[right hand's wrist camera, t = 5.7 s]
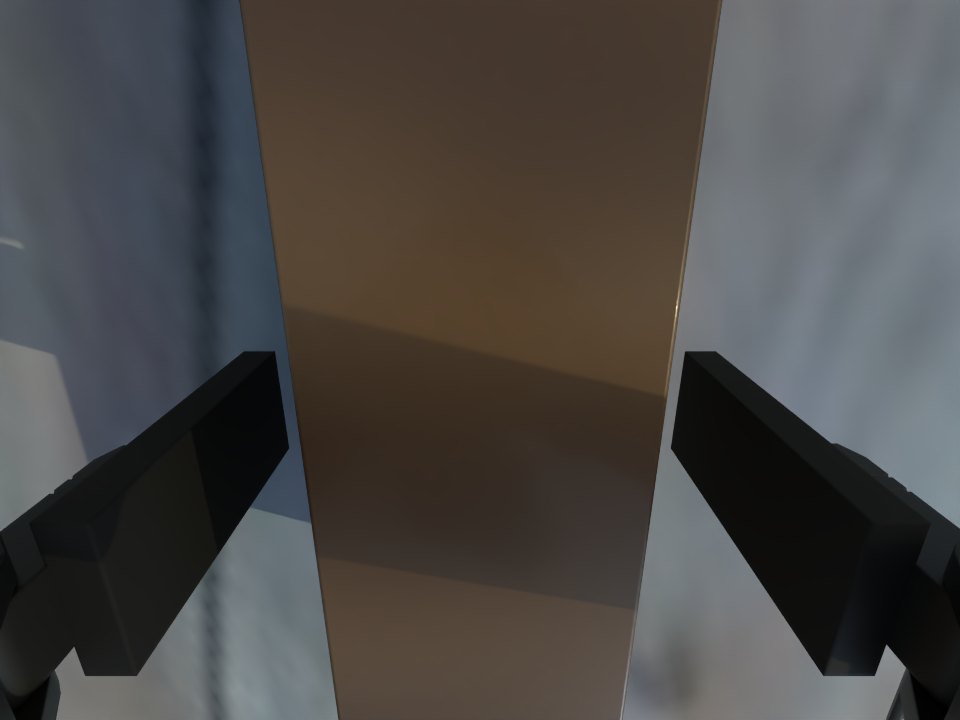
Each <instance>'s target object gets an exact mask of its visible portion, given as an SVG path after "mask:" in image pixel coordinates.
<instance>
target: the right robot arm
mask: <svg viewBox="0 0 960 720" xmlns="http://www.w3.org/2000/svg"><path fill="white" fill-rule="evenodd" d="M288 449H289V444H288V437H287V430H286V424H285V417H284V410H283V403H282V397H281V390H280V383H279V376H278V369H277V363H276V356H275V351H244V352H243V353H242V354H240V355H239V356H238V357H237V358H235V359H234V360H233V361H232V362H230V363H229V364H228V365H227V366H225V367H224V368H223V369H222V370H220V371H219V372H218V373H217V374H215V375H214V376H213V377H212V378H210V379H209V380H208V381H207V382H205V383H204V384H203V385H202V386H200V387H199V388H198V389H197V390H195V391H194V392H193V393H191V394H190V395H189V396H188V397H186V398H185V399H184V400H183V401H181V402H180V403H179V404H178V405H176V406H175V407H174V408H173V409H171V410H170V411H169V412H168V413H166V414H165V415H164V416H163V417H161V418H160V419H159V420H158V421H156V422H155V423H154V424H153V425H151V426H150V427H149V428H148V429H146V430H145V431H144V432H143V433H141V434H140V435H139V436H138V437H136V438H135V439H134V440H133V441H131V442H130V443H129V444H128V445H123V446H121V447H119V448H117V449H115V450H113V451H111V452H109V453H107V454H105V455H103V456H100V457H98V458H96V459H94V460H93V461H92V462H90V463H89V464H88V465H86V466H85V467H84V468H83V469H81V470H80V471H79V472H77V473H76V474H75V475H73V478H72V480H67V481H66V482H64V483H63V484H62V485H60V486H59V487H58V488H57V489H55V490H54V494H49V495H47V496H46V497H45V498H43V499H42V500H41V501H40V502H38V503H37V504H36V505H34V506H33V507H32V508H30V509H29V510H28V511H27V512H25V513H24V514H23V515H21V516H20V517H19V518H17V519H16V520H15V521H14V522H12V523H11V524H10V525H8V526H7V527H6V528H4V529H3V530H2V531H1V532H0V720H56V717H57V711H58V705H59V700H60V694H61V692H60V685H59V680H58V678H57V675H56V672H55V669H56V668H57V666H58V665H59V664H60V663H61V662H62V660H63V659H64V658H65V657H66V656H67V654H68V653H69V652H70V651H71V650H72V648H73V647H75V649H76V652H77V655H78V658H79V660H80V663H81V666H82V668H83V671H84V674H85V676H137V675H138V673H139V672H140V670H141V669H142V667H143V666H144V664H145V663H146V661H147V660H148V658H149V657H150V655H151V654H152V652H153V651H154V649H155V648H156V646H157V645H158V643H159V642H160V640H161V639H162V637H163V636H164V634H165V633H166V631H167V630H168V628H169V627H170V625H171V624H172V622H173V621H174V619H175V618H176V616H177V615H178V613H179V612H180V610H181V609H182V607H183V606H184V604H185V603H186V601H187V600H188V599H189V597H190V596H191V594H192V593H193V591H194V590H195V588H196V587H197V585H198V584H199V582H200V581H201V579H202V578H203V576H204V575H205V573H206V572H207V570H208V569H209V567H210V566H211V564H212V563H213V561H214V560H215V558H216V557H217V555H218V554H219V552H220V551H221V549H222V548H223V546H224V545H225V543H226V542H227V540H228V539H229V537H230V536H231V534H232V533H233V531H234V530H235V528H236V527H237V525H238V524H239V522H240V521H241V519H242V518H243V516H244V515H245V513H246V512H247V510H248V509H249V507H250V506H251V504H252V503H253V501H254V500H255V499H256V497H257V496H258V494H259V493H260V491H261V490H262V488H263V487H264V485H265V484H266V482H267V481H268V479H269V478H270V476H271V475H272V473H273V472H274V470H275V469H276V467H277V466H278V464H279V463H280V461H281V460H282V458H283V457H284V455H285V454H286V452H287V451H288ZM671 449H672V451H673V452H674V454H675V455H676V457H677V458H678V460H679V461H680V463H681V464H682V466H683V467H684V469H685V470H686V472H687V473H688V475H689V476H690V478H691V479H692V481H693V482H694V484H695V485H696V487H697V488H698V490H699V491H700V493H701V494H702V496H703V497H704V499H705V500H706V502H707V503H708V504H709V506H710V507H711V509H712V510H713V512H714V513H715V515H716V516H717V518H718V519H719V521H720V522H721V524H722V525H723V527H724V528H725V530H726V531H727V533H728V534H729V536H730V537H731V539H732V540H733V542H734V543H735V545H736V546H737V548H738V549H739V551H740V552H741V554H742V555H743V557H744V558H745V560H746V561H747V563H748V564H749V566H750V567H751V569H752V570H753V572H754V573H755V575H756V576H757V578H758V579H759V581H760V582H761V584H762V585H763V587H764V588H765V590H766V591H767V593H768V594H769V596H770V597H771V599H772V600H773V602H774V603H775V604H776V606H777V607H778V609H779V610H780V612H781V613H782V615H783V616H784V618H785V619H786V621H787V622H788V624H789V625H790V627H791V628H792V630H793V631H794V633H795V634H796V636H797V637H798V639H799V640H800V642H801V643H802V645H803V646H804V648H805V649H806V651H807V652H808V654H809V655H810V657H811V658H812V660H813V661H814V663H815V664H816V666H817V667H818V669H819V670H820V672H821V673H822V675H823V676H875V674H876V671H877V668H878V666H879V663H880V660H881V658H882V655H883V652H884V649H885V647H886V644H887V645H888V647H889V648H890V649H891V650H892V651H893V653H894V654H895V655H896V656H897V657H898V658H899V660H900V661H901V662H902V663H903V664H904V666H905V667H906V670H905V672H904V675H903V678H902V680H901V683H900V685H899V688H898V690H897V693H896V695H895V698H894V700H893V703H892V705H891V708H890V710H889V713H888V715H887V718H886V720H902V719H904V720H960V529H959V528H958V527H957V526H955V525H954V524H953V523H952V522H950V521H949V520H948V519H946V518H945V517H944V516H942V515H941V514H940V513H938V512H937V511H936V510H934V509H933V508H932V507H931V506H929V505H928V504H927V503H925V502H924V501H923V500H921V499H920V498H919V497H917V496H916V495H915V494H913V493H912V492H907V490H906V487H904V486H903V485H902V484H900V483H899V482H898V481H896V480H895V479H894V478H892V477H888V474H887V473H886V472H885V471H883V470H882V469H881V468H879V467H878V466H877V465H875V464H874V463H873V462H871V461H870V460H869V459H868V458H866V457H864V456H862V455H860V454H858V453H856V452H854V451H852V450H850V449H847V448H845V447H843V446H841V445H839V444H831V443H830V442H829V441H827V440H826V439H825V438H824V437H822V436H821V435H820V434H819V433H817V432H816V431H815V430H814V429H812V428H811V427H810V426H809V425H807V424H806V423H805V422H804V421H802V420H801V419H800V418H799V417H797V416H796V415H795V414H794V413H792V412H791V411H790V410H789V409H787V408H786V407H785V406H784V405H782V404H781V403H780V402H779V401H777V400H776V399H775V398H774V397H772V396H771V395H770V394H768V393H767V392H766V391H765V390H763V389H762V388H761V387H760V386H758V385H757V384H756V383H755V382H753V381H752V380H751V379H750V378H748V377H747V376H746V375H745V374H743V373H742V372H741V371H740V370H738V369H737V368H736V367H735V366H733V365H732V364H731V363H730V362H728V361H727V360H726V359H725V358H723V357H722V356H721V355H720V354H718V353H717V352H716V351H685V356H684V362H683V369H682V376H681V383H680V390H679V396H678V403H677V410H676V417H675V424H674V430H673V437H672V444H671Z"/></svg>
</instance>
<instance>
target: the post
mask: <svg viewBox="0 0 960 720" xmlns="http://www.w3.org/2000/svg"><path fill="white" fill-rule="evenodd" d="M239 1H240V8H241V15H242V23H243V30H244V37H245V44H246V52H247V59H248V66H249V74H250V81H251V88H252V95H253V103H254V110H255V117H256V124H257V132H258V139H259V146H260V153H261V161H262V168H263V175H264V182H265V190H266V197H267V204H268V211H269V219H270V226H271V233H272V241H273V248H274V255H275V262H276V270H277V277H278V284H279V291H280V299H281V306H282V313H283V320H284V328H285V335H286V342H287V349H288V357H289V364H290V371H291V379H292V386H293V393H294V400H295V408H296V415H297V422H298V429H299V437H300V444H301V451H302V458H303V466H304V473H305V480H306V487H307V495H308V502H309V509H310V516H311V524H312V531H313V538H314V546H315V553H316V560H317V567H318V575H319V582H320V589H321V596H322V604H323V611H324V618H325V625H326V633H327V640H328V647H329V654H330V662H331V669H332V676H333V683H334V691H335V698H336V705H337V713H338V720H622V719H623V712H624V704H625V697H626V690H627V683H628V676H629V668H630V661H631V654H632V647H633V640H634V632H635V625H636V618H637V611H638V604H639V596H640V589H641V582H642V575H643V568H644V560H645V553H646V546H647V539H648V532H649V524H650V517H651V510H652V503H653V496H654V488H655V481H656V474H657V467H658V460H659V452H660V445H661V438H662V431H663V424H664V416H665V409H666V402H667V395H668V388H669V380H670V373H671V366H672V359H673V352H674V344H675V337H676V330H677V323H678V316H679V308H680V301H681V294H682V287H683V280H684V272H685V265H686V258H687V251H688V244H689V236H690V229H691V222H692V215H693V208H694V200H695V193H696V186H697V179H698V172H699V164H700V157H701V150H702V143H703V136H704V128H705V121H706V114H707V107H708V100H709V93H710V85H711V78H712V71H713V64H714V57H715V49H716V42H717V35H718V28H719V21H720V13H721V6H722V0H239Z"/></svg>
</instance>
